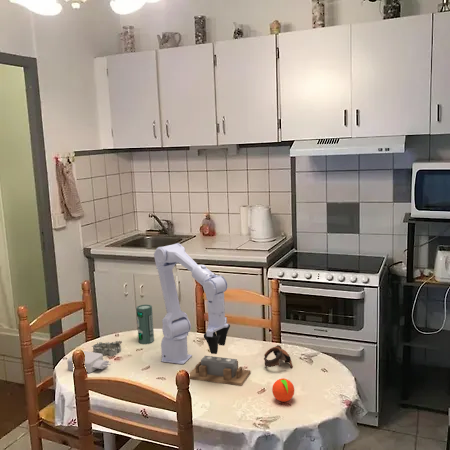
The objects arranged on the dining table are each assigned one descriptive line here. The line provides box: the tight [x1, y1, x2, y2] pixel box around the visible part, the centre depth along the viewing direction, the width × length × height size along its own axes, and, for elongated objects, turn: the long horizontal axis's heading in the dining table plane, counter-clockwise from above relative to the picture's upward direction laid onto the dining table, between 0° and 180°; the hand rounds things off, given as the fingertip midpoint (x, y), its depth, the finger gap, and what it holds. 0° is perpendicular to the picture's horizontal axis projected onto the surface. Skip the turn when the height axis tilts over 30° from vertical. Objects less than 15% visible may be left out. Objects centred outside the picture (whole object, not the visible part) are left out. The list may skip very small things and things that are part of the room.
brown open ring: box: [263, 344, 294, 369], centre depth 186 cm, size 12×10×8 cm
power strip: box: [200, 355, 238, 378], centre depth 179 cm, size 12×4×5 cm, turn 70°
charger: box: [67, 350, 111, 374], centre depth 190 cm, size 5×9×15 cm
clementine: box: [271, 377, 295, 403], centre depth 160 cm, size 8×7×7 cm
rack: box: [188, 360, 252, 387], centre depth 179 cm, size 20×10×4 cm, turn 70°
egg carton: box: [91, 340, 123, 357], centre depth 205 cm, size 11×8×4 cm
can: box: [135, 304, 155, 345], centre depth 213 cm, size 6×6×15 cm
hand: (217, 349), depth 178 cm, fingers open, 7 cm apart
